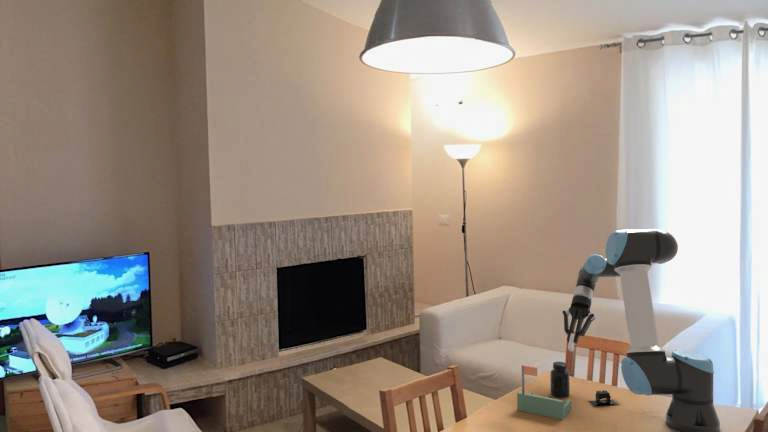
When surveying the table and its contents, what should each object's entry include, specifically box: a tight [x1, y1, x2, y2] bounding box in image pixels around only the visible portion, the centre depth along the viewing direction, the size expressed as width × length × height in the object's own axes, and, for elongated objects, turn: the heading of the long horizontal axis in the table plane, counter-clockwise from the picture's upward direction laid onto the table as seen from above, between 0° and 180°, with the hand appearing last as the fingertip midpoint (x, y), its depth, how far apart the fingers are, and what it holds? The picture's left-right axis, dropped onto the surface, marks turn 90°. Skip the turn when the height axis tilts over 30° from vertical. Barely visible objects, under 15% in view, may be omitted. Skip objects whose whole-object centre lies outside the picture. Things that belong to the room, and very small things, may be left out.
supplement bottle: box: [549, 361, 571, 399], centre depth 211 cm, size 7×7×12 cm
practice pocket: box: [516, 364, 573, 421], centre depth 198 cm, size 10×16×16 cm, turn 55°
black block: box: [587, 389, 620, 408], centre depth 202 cm, size 12×7×5 cm, turn 93°
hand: (570, 349), depth 222 cm, fingers closed
